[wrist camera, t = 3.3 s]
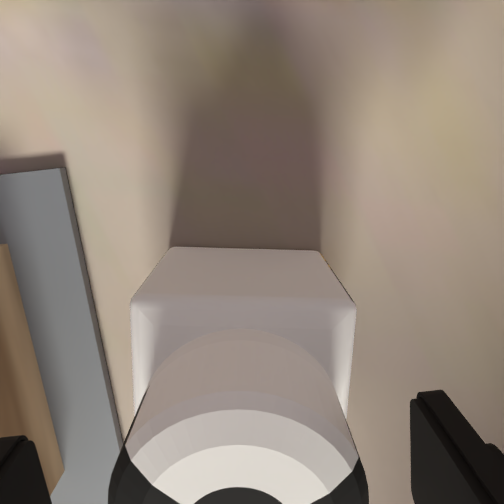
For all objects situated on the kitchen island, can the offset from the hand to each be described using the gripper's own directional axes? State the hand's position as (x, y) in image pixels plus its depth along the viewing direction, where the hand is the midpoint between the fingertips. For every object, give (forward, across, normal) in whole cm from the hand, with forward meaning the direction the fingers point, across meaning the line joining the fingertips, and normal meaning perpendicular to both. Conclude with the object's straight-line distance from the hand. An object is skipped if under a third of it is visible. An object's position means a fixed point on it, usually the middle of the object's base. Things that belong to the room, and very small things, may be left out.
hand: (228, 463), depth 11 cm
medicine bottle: (+11, 0, +1) cm, 11 cm away
